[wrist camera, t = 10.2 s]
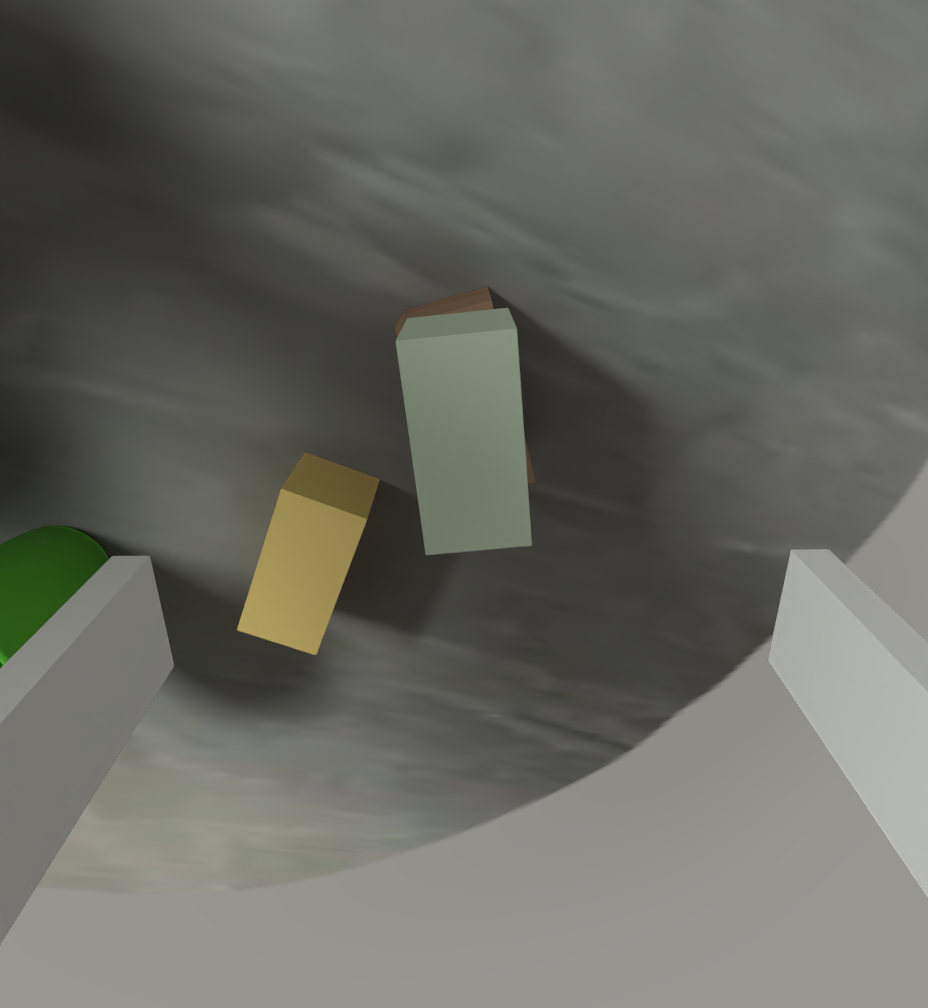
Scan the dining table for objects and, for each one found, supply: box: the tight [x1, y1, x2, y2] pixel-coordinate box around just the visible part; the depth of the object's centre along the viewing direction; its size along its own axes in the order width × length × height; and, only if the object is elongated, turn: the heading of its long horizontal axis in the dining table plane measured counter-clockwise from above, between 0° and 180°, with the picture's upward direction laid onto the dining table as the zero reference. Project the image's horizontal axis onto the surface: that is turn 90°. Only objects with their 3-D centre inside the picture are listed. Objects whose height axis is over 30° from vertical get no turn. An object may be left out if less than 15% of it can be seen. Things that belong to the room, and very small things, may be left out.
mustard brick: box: [237, 452, 380, 655], centre depth 34 cm, size 8×4×5 cm, turn 158°
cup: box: [0, 526, 109, 668], centre depth 32 cm, size 9×9×11 cm
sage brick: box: [396, 308, 532, 555], centre depth 26 cm, size 8×4×5 cm, turn 6°
